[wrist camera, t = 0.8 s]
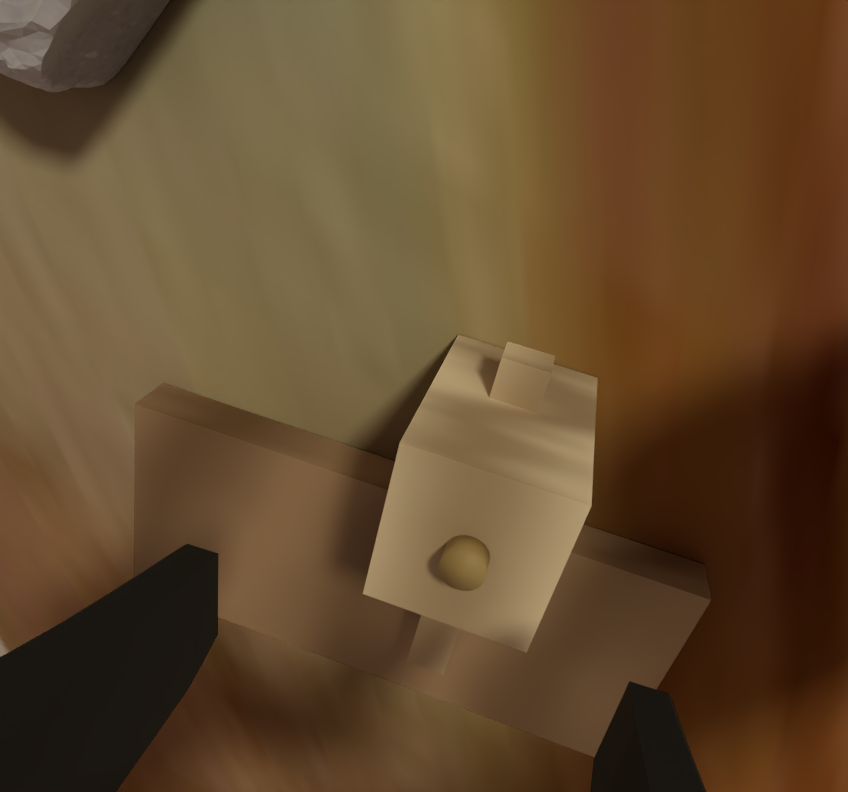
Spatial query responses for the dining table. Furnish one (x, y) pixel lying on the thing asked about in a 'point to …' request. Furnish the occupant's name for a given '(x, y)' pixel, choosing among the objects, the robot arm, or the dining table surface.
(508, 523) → the block
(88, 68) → the stone block
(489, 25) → the dining table surface
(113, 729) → the robot arm
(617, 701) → the board
